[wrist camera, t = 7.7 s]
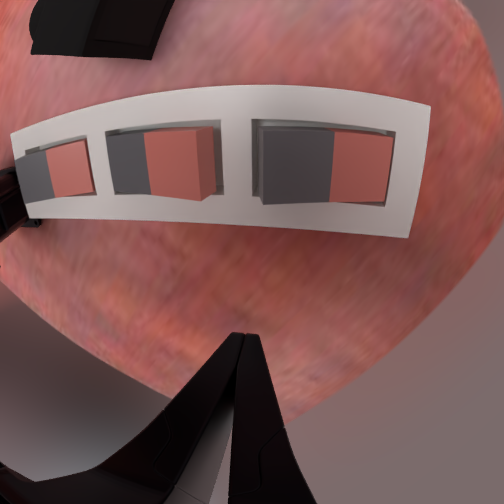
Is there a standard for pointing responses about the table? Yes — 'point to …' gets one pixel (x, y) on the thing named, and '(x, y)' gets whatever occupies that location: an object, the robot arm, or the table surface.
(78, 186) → the rocker
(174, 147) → the rocker
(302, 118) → the rocker switch panel
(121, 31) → the black cubic block
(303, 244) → the table surface
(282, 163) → the rocker
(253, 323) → the table surface
